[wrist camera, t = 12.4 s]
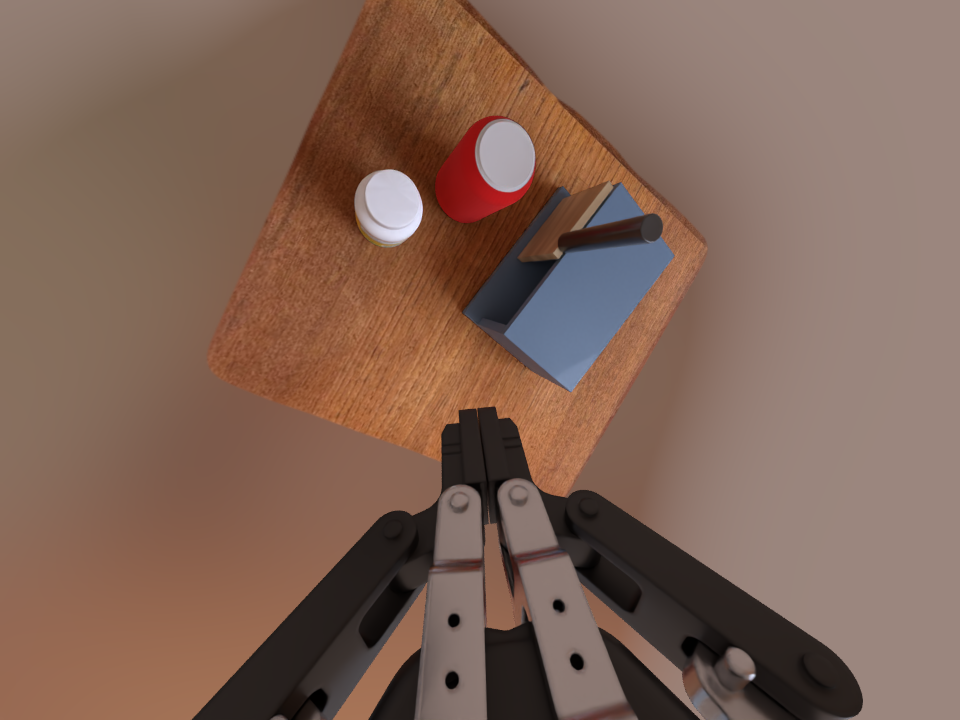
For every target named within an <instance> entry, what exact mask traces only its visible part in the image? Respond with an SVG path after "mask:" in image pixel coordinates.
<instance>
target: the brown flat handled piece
mask: <svg viewBox="0 0 960 720" xmlns="http://www.w3.org/2000/svg"><path fill="white" fill-rule="evenodd" d="M612 189H613V186H612V184H611V183H610V182H609V181H607V182H604V183H602V184H599V185H597V186H594V187H592V188H589V189H587V190H584V191H581V192H579V193H576V194H574V195H571V196H569V197H566V198H564V199H562V201H561V202H560V203H559V204H558V206H557V207H556V208H555V210H554V211H553V212H552V213H551V215H550V216H549V217H548V219H547V220H546V221H545V222H544V224H543V225H542V226H541V228H540V229H539V230H538V232H537V233H536V234H535V235H534V237H533V238H532V239H531V241H530V242H529V243H528V244H527V246H526V247H525V248H524V250H523V251H522V252H521V254H520V255H519V256H518V257H517V258H518V259H519V260H520V261H521V262H531V261H542V260H552V259H559V258H560V256H561V255H562V254H563V253H574V252H582V251H591V250H599V249H607V248H616V247H624V246H632V245H640V244H649V243H654V242H655V241H657V240H658V239H659V238H660V236H661V234H662V231H663V223H662V220H661V218H660V217H659V216H658V215H657V214H654V213H651V214H646V215H642V216H637V217H633V218H629V219H624V220H620V221H615V222H611V223H606V224H602V225H597V226H593V227H588V228H584V229H582V228H583V226H584V225H585V224H586V223H587V221H588V220H589V219H590V217H591V216H592V215H593V213H594V212H595V211H596V210H597V208H598V207H599V206H600V204H601V203H602V202H603V200H604V199H605V198H606V197H607V195H608V194H609V193H610V191H611V190H612Z"/></svg>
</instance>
